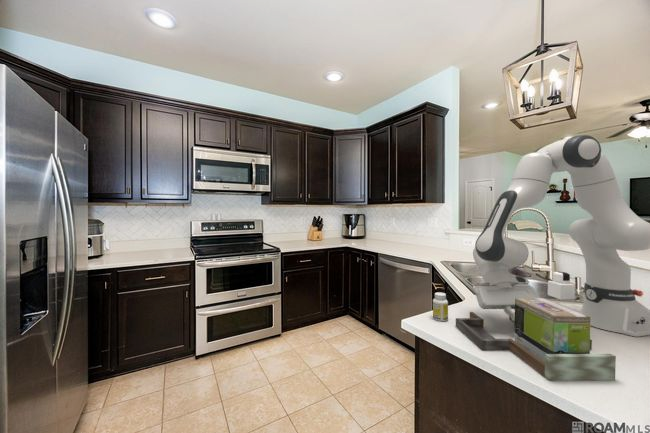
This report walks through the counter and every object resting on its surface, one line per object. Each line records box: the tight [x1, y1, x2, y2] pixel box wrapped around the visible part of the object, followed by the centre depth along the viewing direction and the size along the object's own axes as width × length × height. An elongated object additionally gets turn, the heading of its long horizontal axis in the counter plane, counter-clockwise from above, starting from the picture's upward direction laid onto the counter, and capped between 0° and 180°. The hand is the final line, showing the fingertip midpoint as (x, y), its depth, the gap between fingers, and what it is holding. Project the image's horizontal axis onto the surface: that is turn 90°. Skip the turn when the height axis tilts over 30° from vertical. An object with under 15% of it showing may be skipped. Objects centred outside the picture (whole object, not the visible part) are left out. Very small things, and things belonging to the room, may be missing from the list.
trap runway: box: [455, 311, 617, 382], centre depth 83 cm, size 33×36×6 cm
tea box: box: [513, 297, 591, 362], centre depth 76 cm, size 15×10×15 cm
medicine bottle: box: [547, 271, 576, 301], centre depth 126 cm, size 7×7×12 cm
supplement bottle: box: [432, 292, 449, 322], centre depth 103 cm, size 5×5×10 cm
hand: (518, 320), depth 87 cm, fingers closed
